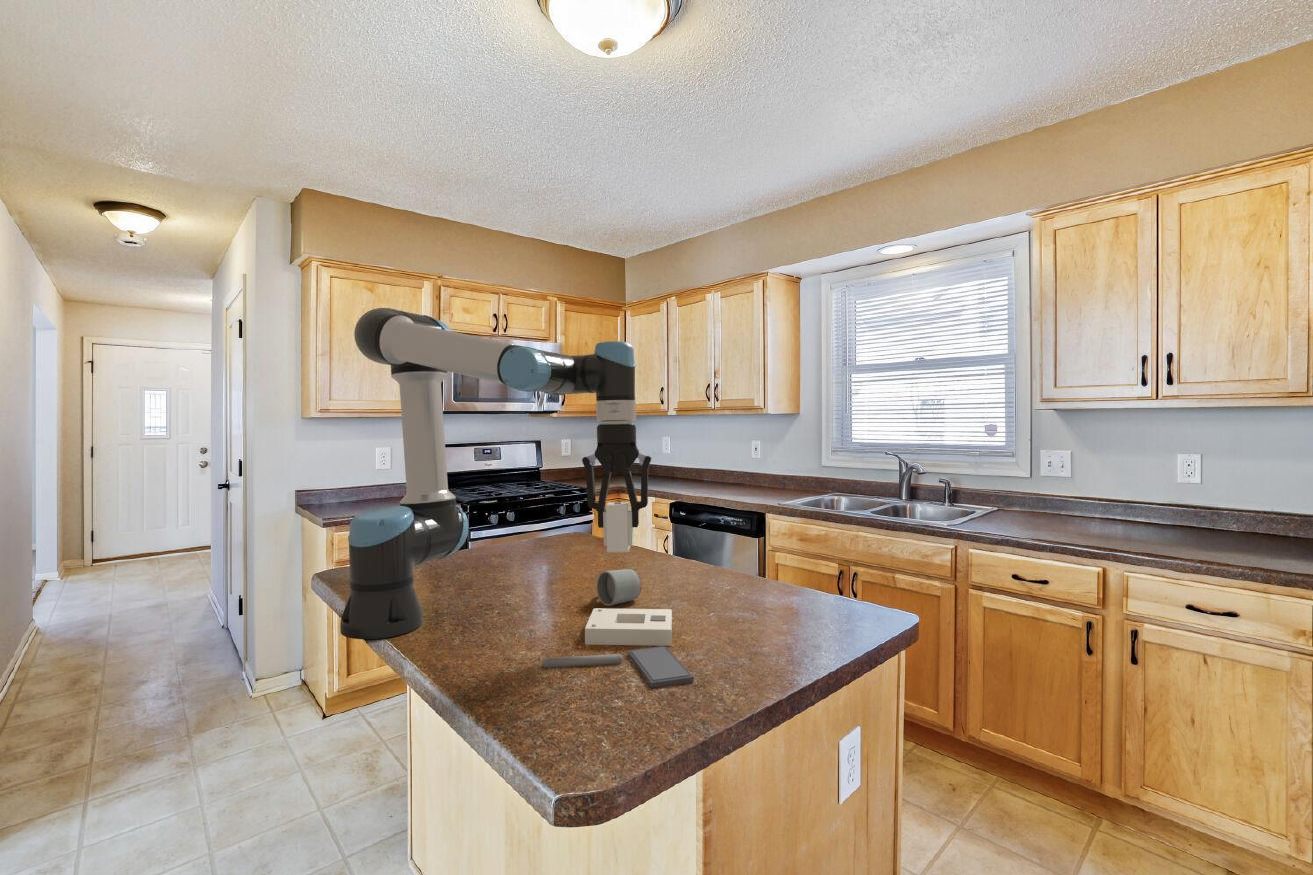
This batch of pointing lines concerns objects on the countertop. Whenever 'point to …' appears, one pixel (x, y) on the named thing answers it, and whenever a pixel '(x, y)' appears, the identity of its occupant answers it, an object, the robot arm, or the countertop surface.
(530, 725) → the countertop surface
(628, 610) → the outlet plate
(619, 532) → the charger block
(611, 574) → the ceramic mug
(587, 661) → the grey rod
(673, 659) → the phone slab
